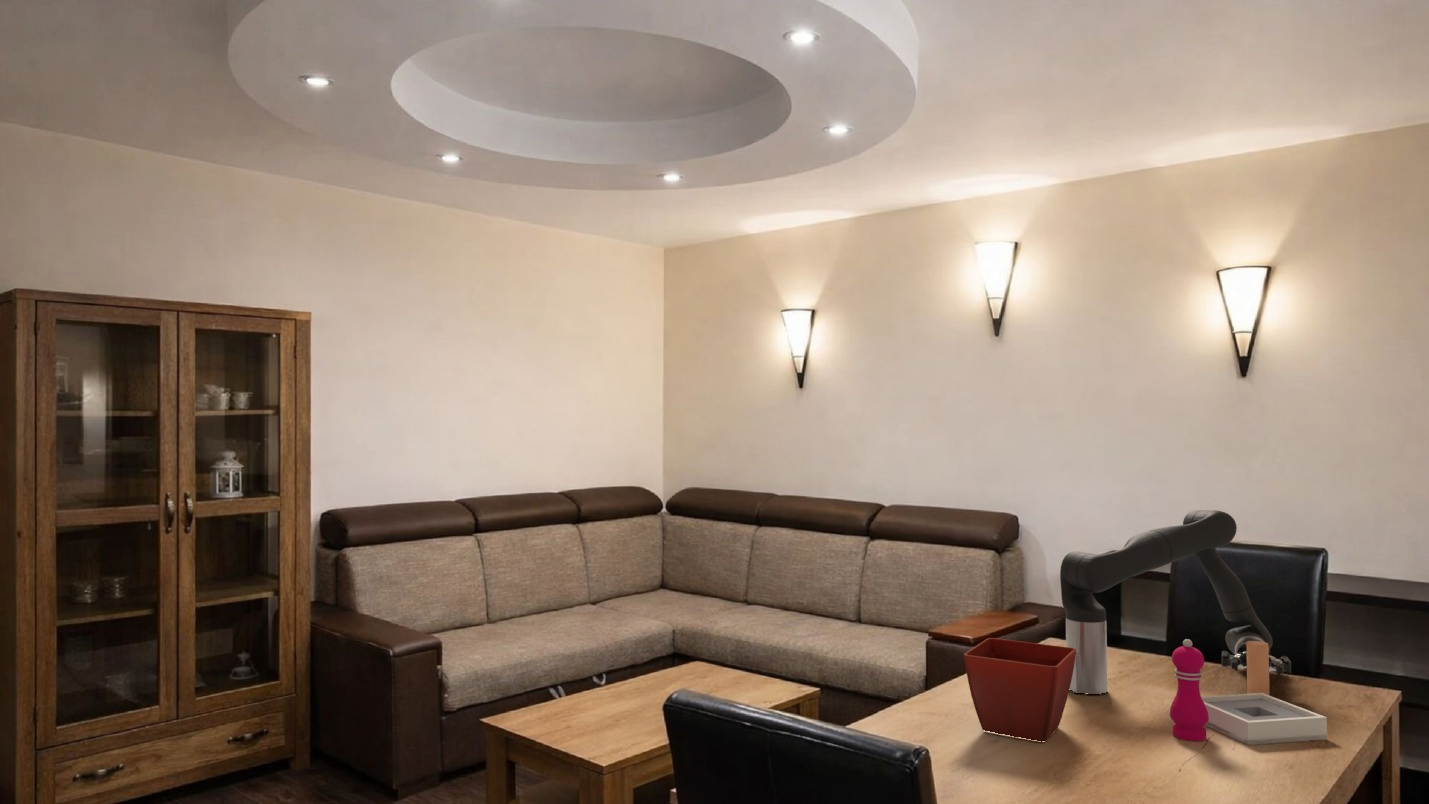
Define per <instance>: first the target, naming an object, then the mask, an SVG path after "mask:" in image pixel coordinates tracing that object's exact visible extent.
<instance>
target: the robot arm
mask: <svg viewBox="0 0 1429 804" xmlns="http://www.w3.org/2000/svg"><path fill="white" fill-rule="evenodd" d="M1237 529H1238V527H1237V523H1236V520H1235V519H1234V517H1232V516H1231V515H1230V514H1229V513H1227V512H1225V511H1221V510H1202V509H1201V510H1200V509H1199V510H1192V511H1189V512H1187V514H1186V515H1185V516H1184V518H1183V521H1182V525H1181V524H1180V525H1170V526H1164V527H1157V528H1153V529H1149V530H1147V531H1144V532H1140V533H1139V534H1136V535H1134V536H1132V537H1130V538H1129V539H1128V540H1127V541H1126V543H1125V544H1124V546H1123V547H1122V548H1121V549H1119V550H1115V551H1113V552H1108V553H1103V554H1097V553H1096V554H1095V553H1090V552H1085V551H1084V552H1083V551H1077V550H1076V551H1071V552H1068V553H1067V554H1066V555H1065V556H1064V557H1063V559H1062V562H1061V565H1060V571H1059V572H1060V573H1059V577H1060V578H1059V579H1060V580H1059V581H1060V591H1061V593H1060V594H1061V603H1062V607H1063V609H1064V612H1065V647H1069V648H1075V649H1076V656H1075V664H1074V669H1073V675H1072V680H1071V685H1070V690H1072V691H1074V692H1075V693H1088V694H1100V693H1105V694H1107V693H1108V692H1107V691H1108V683H1109V682H1108V644H1107V643H1108V642H1107V641H1108V640H1107V639H1108V637H1107V632H1108V631H1107V610H1106V608H1105V607H1104V606H1103V604H1101V603H1099V602H1098V601H1097V599H1096V598H1095V596H1094V595H1093V593H1098V594H1099V593H1102V592H1105V591H1107V590H1109V589H1111V588H1113V587H1114V586H1116V585H1118V584H1121V583H1122V582H1124V581H1126V580H1128V579H1129V578H1130V579H1131V578H1132V577H1136V576H1139V575H1142V574H1144V573H1146V572H1147V573H1148V572H1149V571H1154V570H1156V569H1159V568H1161V567H1164V566H1167V565H1169V564H1171V563H1173V562H1176V561H1179V560H1181V559H1184V558H1187V557H1189V556H1191V555H1193V554H1194V555H1195V557H1196V558H1197V560H1198V562H1199V563H1200V565H1201V567H1202V569H1203V570H1204V572H1205V575H1206V577H1208V579H1209V581H1210V583H1211V586H1212V587H1213V590H1214V592H1215V594H1216V597H1217V601H1218V603H1219V605H1220V608H1221V610H1222V613H1223V616H1224V618H1225V619H1226V620H1228V622H1232V623H1245V624H1248V625H1244V626H1239V627H1234V628H1231V629H1229V630H1227V631H1226V633H1225V643H1226V645H1227V648H1228V649H1229V651H1230V652H1231V653H1232V654H1231V653H1230V652H1228V651H1227V650H1222V651H1221V667H1223V668H1226V667H1228V666H1229V667H1230V669H1232V670H1233V671H1234V672H1239V669H1240V670H1243V669H1244V670H1245V671H1246V672H1247V649H1246V642H1247V641H1261V642H1265V643H1268V650H1269V673H1270V672H1271V673H1272V672H1273V673H1274V672H1275V673H1276V676H1281V674H1284V672H1285V673H1287V674H1291V673H1292V661H1291V660H1290V659H1289V657H1288V656H1286V655H1282V656H1281V657H1280V658H1276V657H1275V656H1272V654H1271V650H1270V649H1272V646H1273V641H1274V640H1273V637H1272V635H1271V633H1270V631H1269V630H1268V628H1267V627H1266V626H1265V625H1264V623H1263V622H1262V621H1261V619H1260V618H1259V617H1258V615H1257V613H1256V611H1255V609H1254V607H1253V606H1252V602H1251V599H1250V597H1249V594H1248V592H1247V589H1246V588H1245V585H1244V583H1243V582H1242V581H1241V579H1240V578H1239V577H1238V576H1237V574H1236V573H1234V571H1233V570H1232V569H1231V568H1230V567H1229V566H1228V565H1227V563H1225V562H1224V560H1223V559H1222V558H1221V555H1219V553H1218V551H1217V548H1219V547H1224V546H1226V545H1228V544H1230V543H1231V542H1232V541H1233V539H1234V538H1235V536H1236V533H1237ZM1070 690H1069V691H1070ZM1072 691H1071V692H1072ZM1074 692H1073V693H1074ZM1106 692H1107V693H1106ZM1075 693H1074V694H1075ZM1100 695H1101V694H1100Z"/></svg>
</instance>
